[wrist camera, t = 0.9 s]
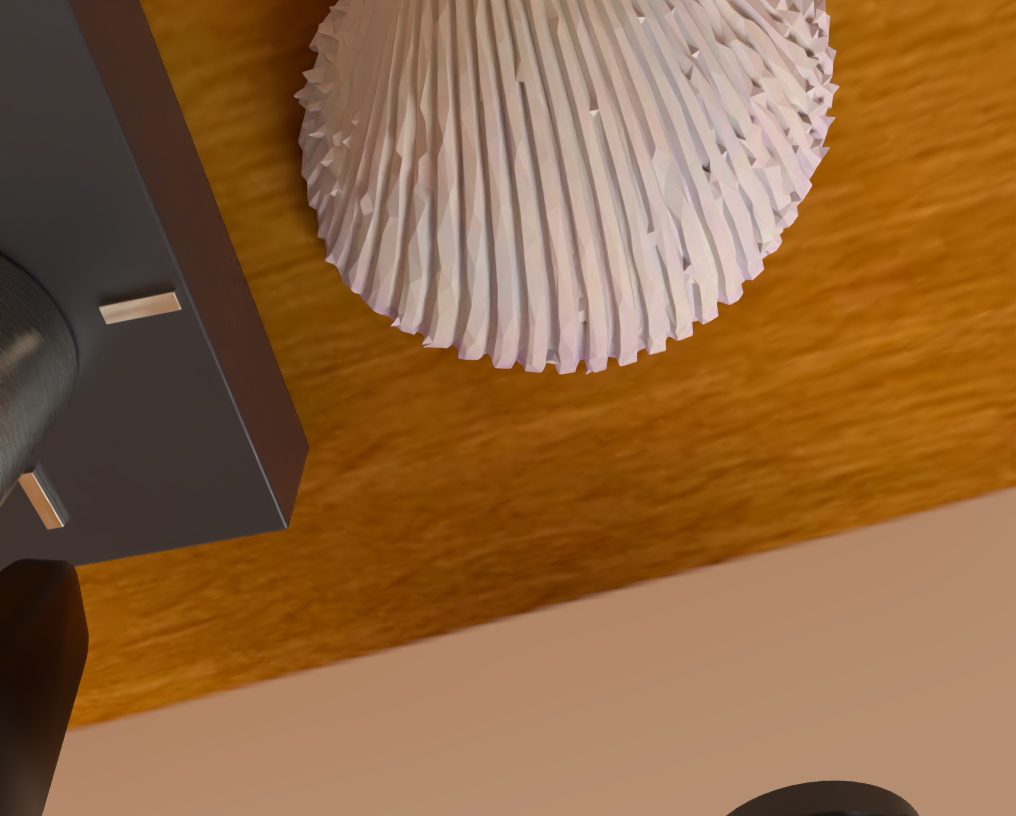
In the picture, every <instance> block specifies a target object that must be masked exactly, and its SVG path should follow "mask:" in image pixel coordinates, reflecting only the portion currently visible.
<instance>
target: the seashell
mask: <svg viewBox="0 0 1016 816" xmlns="http://www.w3.org/2000/svg"><path fill="white" fill-rule="evenodd" d="M329 8H330V11H331V12H330V13H329V14H328V16H327V17H326V18H325V20H324V21H323V22H322V23H320V24H319V28H318V31H317V33H316V35H315V36H314V38H313V40H312V42H311V44H310V45H309V48H310V49H311V50H312V51H315V52H319V54H318V57H317V60H316V63H315V65H314V68H313V69H312V70H308V71H305V72H302V74H303V75H304V76H305V77H306V79H307V80H308V81H307V83H306V85H305V87H304V89H301V90H300V91H298V92H297V93H295V95H294V97H296V98H299V99H300V100H299V104H300V105H301V106H302V107H304V108H305V109H306V111H305V115H304V119H303V123H302V128H301V132H300V136H299V140H298V143H299V145H300V147H301V148H302V150H303V158H302V171H301V176H303V177H304V178H305V180H306V181H307V195H308V205H309V206H310V207H312V208H314V209H316V210H317V216H318V227H319V230H318V234H317V237H319V238H321V239H324V241H325V246H326V251H327V254H326V257H325V260H324V261H326V262H329V263H332V264H334V265H335V266H336V267H337V269H338V270H339V272H340V274H341V277H342V280H343V284H344V285H346V286H347V287H348V288H349V289H351V290H352V291H353V292H354V293H357V294H360V296H361V298H362V299H363V301H364V302H365V303H366V304H367V305H368V306H369V307H370V308H371V309H372V310H373V311H375V312H377V313H379V314H381V315H383V314H384V315H387V316H389V317H390V318H391V319H392V320H393V323H392V325H391V326H395V327H397V328H398V329H400V330H401V331H403V332H407V333H411V334H413V335H415V333H416V332H419V333H422V335H423V336H424V337H425V339H424V341H423V343H422V344H424V345H423V347H436V348H448V347H449V346H451V345H452V344H453V345H454V346H455V347H456V348H457V349H458V358H459V359H464V360H478V359H480V358H481V357H482V356H483V354H487V353H488V355H489V356H490V358H491V360H492V364H493V365H494V367H495V368H508V369H511V368H512V366H513V364H514V363H515V361H518V362H519V363H520V364H521V365H523V367H524V369H525V371H528V372H539V373H541V372H542V371H543V369H544V368H545V365H546V363H551V364H555V368H556V371H557V372H558V373H559V375H560V374H566V373H572V372H575V370H576V367H577V365H578V363H579V360H585V364H586V374H588V373H590V372H594V373H595V372H599V371H602V370H606V366H607V360H608V357H613V358H616V359H617V361H618V363H619V365H620V366H624V365H627V364H630V363H634V362H637V352H638V351H639V350H641V349H643V348H645V350H646V351H647V353H648V355H651V354H655V353H659V352H662V351H666V343H665V341H666V339H667V337H672V338H673V339H675V340H682V339H685V338H687V337H690V336H692V335H693V329H692V322H694V321H699V322H700V323H702V324H705V323H708V322H710V321H711V320H713V319H714V318H716V317H718V310H717V301H719V302H722V303H725V304H728V305H730V304H732V303H734V302H736V301H738V300H739V299H740V297H741V296H742V294H743V289H742V286H741V284H742V283H743V282H744V281H745V280H753V279H754V278H755V277H756V276H757V275H759V274H760V273H761V272H762V271H763V270H764V267H763V262H762V259H763V258H764V257H765V256H767V255H769V254H771V253H773V252H774V251H776V250H777V249H778V247H779V246H780V244H781V243H782V239H781V237H780V234H781V233H782V232H783V229H784V228H786V227H789V226H790V225H791V224H792V223H793V222H794V220H795V219H796V218H797V216H798V212H797V207H796V206H797V205H798V204H799V203H800V202H801V201H803V199H804V198H805V196H806V195H807V193H808V191H809V190H810V188H811V187H812V184H811V183H810V181H809V179H810V178H811V176H812V175H813V173H814V171H815V169H816V167H817V166H818V165H819V163H820V162H821V160H822V159H823V157H824V156H825V154H826V153H827V151H828V150H829V148H830V147H822V146H823V143H824V140H825V137H826V134H827V130H828V127H829V126H830V125H831V123H832V122H833V120H834V119H835V118H836V117H827V116H826V113H827V110H828V109H830V108H832V100H833V94H834V93H835V92H836V90H837V89H838V88H839V87H840V86H838V85H837V84H835V83H833V82H831V80H832V74H833V60H834V57H835V55H836V52H837V51H836V50H834V49H832V48H830V47H829V46H828V40H829V37H828V35H829V24H830V16H829V15H827V14H826V13H825V0H339V1H338V2H337V4H336V5H335V6H329Z"/></svg>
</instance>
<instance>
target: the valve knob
mask: <svg viewBox="0 0 1016 816" xmlns="http://www.w3.org/2000/svg"><path fill="white" fill-rule="evenodd" d="M76 379H77V359H76V351H75V346H74V343H73V339H72V335H71V333H70V331H69V328H68V326H67V324H66V321H65V320H64V318H63V316H62V314H61V313H60V311H59V309H58V308H57V306H56V305H55V304H54V302H53V301H52V300H51V298H50V297H49V296H48V294H47V293H46V292H45V291H44V290H43V289H42V288H41V287H40V286H39V285H38V284H37V282H36V281H35V280H33V279H32V278H31V277H30V276H29V275H28V274H26V273H25V272H24V271H23V270H22V269H21V268H19V267H18V266H16V265H15V264H13V263H12V262H11V261H9V260H8V259H6V258H5V257H3V256H1V255H0V507H1V506H2V504H3V503H4V501H5V500H6V498H7V497H8V495H9V494H10V492H11V491H12V489H13V487H14V486H15V484H16V483H17V481H18V480H19V478H20V477H21V475H22V474H23V472H24V471H25V469H26V468H27V466H28V465H29V463H30V462H31V460H32V459H33V457H34V455H35V454H36V452H37V451H38V449H39V448H40V446H41V445H42V443H43V442H44V440H45V439H46V437H47V436H48V434H49V433H50V431H51V430H52V428H53V427H54V425H55V423H56V422H57V420H58V419H59V417H60V416H61V414H62V413H63V411H64V410H65V408H66V406H67V405H68V403H69V402H70V399H71V397H72V394H73V392H74V388H75V383H76Z"/></svg>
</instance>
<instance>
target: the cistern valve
mask: <svg viewBox="0 0 1016 816" xmlns="http://www.w3.org/2000/svg"><path fill="white" fill-rule="evenodd" d="M0 255H1V256H3V257H5V258H6V259H8V260H9V261H11V262H12V263H13V264H15V265H16V266H18V267H19V268H21V269H22V270H23V271H24V272H25V273H26V274H28V275H29V276H30V277H31V278H32V279H33V280H35V281H36V282H37V284H38V285H39V286H40V287H41V288H42V289H43V290H44V291H45V292H46V293H47V294H48V296H49V297H50V298H51V300H52V301H53V302H54V304H55V305H56V306H57V308H58V309H59V311H60V313H61V314H62V316H63V318H64V320H65V321H66V324H67V326H68V328H69V331H70V333H71V335H72V339H73V343H74V346H75V351H76V359H77V379H76V383H75V388H74V392H73V394H72V397H71V399H70V402H69V403H68V405H67V406H66V408H65V410H64V411H63V413H62V414H61V416H60V417H59V419H58V420H57V422H56V423H55V425H54V427H53V428H52V430H51V431H50V433H49V434H48V436H47V437H46V439H45V440H44V442H43V443H42V445H41V446H40V448H39V449H38V451H37V452H36V454H35V455H34V457H33V459H32V460H31V462H30V463H29V465H28V466H27V468H26V469H25V471H24V472H23V474H22V475H21V477H20V478H19V480H18V481H17V483H16V484H15V486H14V487H13V489H12V491H11V492H10V494H9V495H8V497H7V498H6V500H5V501H4V503H3V504H2V506H1V507H0V571H1V570H2V569H4V568H5V567H7V566H8V565H10V564H11V563H13V562H15V561H17V560H20V559H26V558H29V559H49V560H64V561H67V562H69V563H71V564H72V565H73V566H74V567H76V566H82V565H88V564H93V563H99V562H105V561H111V560H116V559H122V558H128V557H133V556H139V555H145V554H150V553H156V552H162V551H167V550H173V549H179V548H184V547H190V546H196V545H201V544H207V543H213V542H218V541H224V540H230V539H235V538H241V537H247V536H252V535H258V534H264V533H269V532H275V531H281V530H286V529H288V528H289V524H290V520H291V516H292V512H293V508H294V504H295V500H296V496H297V492H298V488H299V484H300V480H301V477H302V473H303V469H304V465H305V461H306V457H307V453H308V449H309V446H308V443H307V440H306V438H305V435H304V433H303V430H302V427H301V425H300V422H299V419H298V417H297V414H296V412H295V409H294V406H293V404H292V401H291V398H290V396H289V393H288V391H287V388H286V385H285V383H284V380H283V377H282V375H281V372H280V370H279V367H278V364H277V362H276V359H275V356H274V354H273V351H272V349H271V346H270V343H269V341H268V338H267V336H266V333H265V330H264V328H263V325H262V322H261V320H260V317H259V315H258V312H257V309H256V307H255V304H254V301H253V299H252V296H251V294H250V291H249V288H248V286H247V283H246V280H245V278H244V275H243V273H242V270H241V267H240V265H239V262H238V259H237V257H236V254H235V252H234V249H233V246H232V244H231V241H230V238H229V236H228V233H227V231H226V228H225V225H224V223H223V220H222V217H221V215H220V212H219V210H218V207H217V204H216V202H215V199H214V196H213V194H212V191H211V189H210V186H209V183H208V181H207V178H206V175H205V173H204V170H203V168H202V165H201V162H200V160H199V157H198V154H197V152H196V149H195V147H194V144H193V141H192V139H191V136H190V133H189V131H188V128H187V126H186V123H185V120H184V118H183V115H182V112H181V110H180V107H179V105H178V102H177V99H176V97H175V94H174V91H173V89H172V86H171V84H170V81H169V78H168V76H167V73H166V70H165V68H164V65H163V63H162V60H161V57H160V55H159V52H158V49H157V47H156V44H155V42H154V39H153V36H152V34H151V31H150V28H149V26H148V23H147V21H146V18H145V15H144V13H143V10H142V7H141V5H140V2H139V0H0Z"/></svg>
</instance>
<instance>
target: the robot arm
mask: <svg viewBox="0 0 1016 816" xmlns="http://www.w3.org/2000/svg"><path fill="white" fill-rule="evenodd" d="M88 643H89V635H88V628H87V623H86V617H85V612H84V607H83V601H82V596H81V591H80V585H79V580H78V575H77V572H76V570H75V568H74V566H73V565H72V564H71V563H69V562H67V561H64V560H49V559H29V558H26V559H20V560H17V561H15V562H13V563H11V564H10V565H8V566H7V567H5V568H4V569H2V570H1V571H0V816H42V813H43V810H44V807H45V803H46V800H47V796H48V793H49V789H50V786H51V782H52V779H53V775H54V772H55V768H56V765H57V761H58V757H59V754H60V751H61V747H62V743H63V740H64V737H65V733H66V730H67V726H68V723H69V719H70V716H71V712H72V709H73V705H74V702H75V698H76V695H77V691H78V688H79V684H80V681H81V677H82V674H83V670H84V666H85V663H86V659H87V653H88ZM900 816H907V815H900Z"/></svg>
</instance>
